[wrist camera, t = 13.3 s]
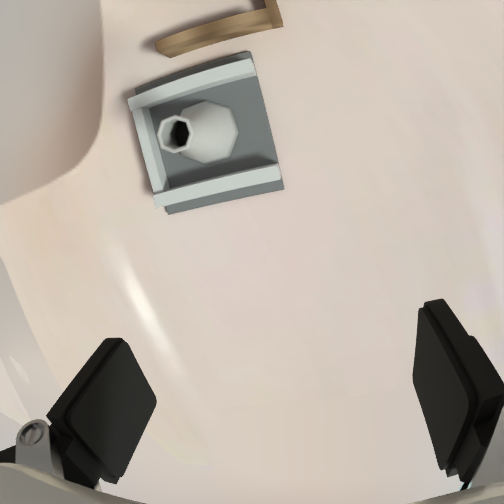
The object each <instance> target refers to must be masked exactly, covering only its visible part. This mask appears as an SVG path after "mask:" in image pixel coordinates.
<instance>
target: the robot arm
mask: <svg viewBox="0 0 504 504" xmlns="http://www.w3.org/2000/svg"><path fill="white" fill-rule="evenodd" d="M413 384H414V387H415V390H416V393H417V396H418V399H419V402H420V405H421V408H422V411H423V414H424V417H425V420H426V424H427V427H428V430H429V434H430V437H431V440H432V444H433V447H434V451H435V454H436V458H437V462H438V466H439V468H440V470H443V469H445V470H446V474H447V477H450V476H453V475H457V474H458V475H459V479H460V481H462V482H463V483H462V485H461V487H460V489H459V491H457V492H454V493H450V494H446V495H442V496H438V497H435V498H430V499H426V500H423V501H418V502H414V503H410V504H504V383H503V381H502V380H501V378H500V376H499V374H498V373H497V371H496V370H495V368H494V366H493V364H492V363H491V361H490V360H489V358H488V356H487V355H486V353H485V352H484V350H483V349H482V347H481V346H480V344H479V343H478V341H477V340H476V338H475V337H474V336H469V335H468V333H467V332H466V330H465V329H464V327H463V326H462V325H461V323H460V322H459V320H458V319H457V317H456V316H455V314H454V313H453V312H452V310H451V309H450V307H449V306H448V304H447V303H446V302H445V300H444V299H437V300H432V301H428V302H425V303H424V307H423V308H420V309H419V311H418V324H417V338H416V349H415V358H414V367H413ZM156 403H157V400H156V396H155V394H154V392H153V391H152V389H151V387H150V385H149V383H148V381H147V380H146V378H145V376H144V374H143V372H142V370H141V368H140V366H139V364H138V362H137V360H136V358H135V356H134V354H133V352H132V350H131V348H130V346H129V345H128V343H127V342H125V341H124V340H123V339H122V338H106V339H105V340H104V341H103V342H102V343H101V345H100V346H99V347H98V348H97V350H96V351H95V352H94V353H93V355H92V356H91V357H90V358H89V360H88V361H87V362H86V363H85V365H84V366H83V367H82V369H81V370H80V371H79V372H78V374H77V375H76V376H75V378H74V379H73V380H72V382H71V383H70V384H69V385H68V387H67V388H66V389H65V391H64V392H63V393H62V395H61V396H60V397H59V399H58V400H57V401H56V403H55V404H54V405H53V407H52V408H51V410H50V411H49V412H48V414H47V415H46V416H47V418H48V419H49V420H50V422H51V423H52V424H51V425H50V426H49V425H48V424H47V423H46V422H45V421H44V420H41V419H36V420H32V421H30V422H28V423H26V424H25V425H24V426H23V427H22V428H21V429H20V431H19V432H18V434H17V437H16V445H15V446H12V447H10V448H7V449H5V450H2V451H0V504H145V503H141V502H136V501H132V500H128V499H124V498H121V497H117V496H113V495H110V494H106V493H103V492H102V491H101V487H100V484H99V479H100V477H101V478H102V479H103V480H104V481H106V482H109V483H113V484H117V482H118V480H119V478H120V477H122V476H123V475H124V473H125V471H126V469H127V466H128V464H129V462H130V460H131V458H132V456H133V453H134V451H135V449H136V447H137V445H138V443H139V440H140V438H141V436H142V434H143V432H144V430H145V428H146V426H147V424H148V421H149V419H150V417H151V415H152V413H153V411H154V409H155V407H156Z"/></svg>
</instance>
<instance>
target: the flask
mask: <svg viewBox="0 0 504 504" xmlns="http://www.w3.org/2000/svg"><path fill="white" fill-rule="evenodd" d="M238 133H239V132H238V129H237V125H236V122H235V119H234V116H233V112H232V109H231V108H229V107H226V106H223V105H220V104H217V103H214V102H211V101H207V100H206V101H204V102H201V103H198V104H195V105H192V106H190V107H187V108H184V109H183V110H182V112H181V114H180V116H178V115H173V116H171V117H168V118H166V119H163V120H161V122H160V125H159V128H158V131H157V138H158V141H159V145H160V148H161V149H163V150H166V151H169V152H172V153H177V152H180V153H181V155H182V156H183V157H186V158H189V159H192V160H194V161H197V162H200V163H203V164H208V163H212V162H215V161H218V160H221V159H225V158H228V157H230V155H231V152H232V149H233V147H234V144H235V141H236V139H237V136H238Z"/></svg>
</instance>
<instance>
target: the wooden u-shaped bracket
mask: <svg viewBox="0 0 504 504" xmlns="http://www.w3.org/2000/svg"><path fill="white" fill-rule="evenodd" d="M264 2H265V6H266V8H263V9H259V10H254V11H250V12H246V13H242V14H238V15H234V16H230V17H227V18H223V19H220V20H216V21H213V22H210V23H206V24H203V25H200V26H197V27H194V28H191V29H188V30H185V31H182V32H180V33H177V34H174V35H171V36H169V37H166V38H164V39H161V40H159V41H156V42H155V45H156V49H157V52H159V53H161V54H163V55H165V56H167V57H169V58H172V57H175V56H178V55H181V54H183V53H186V52H189V51H192V50H195V49H198V48H201V47H205V46H208V45H211V44H214V43H218V42H221V41H225V40H228V39H232V38H236V37H240V36H244V35H248V34H252V33H256V32H260V31H265V30H270V29H274V28H279V27H283V21H282V18H281V14H280V11H279V8H278V5H277V2H276V0H264Z"/></svg>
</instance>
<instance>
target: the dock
mask: <svg viewBox="0 0 504 504" xmlns="http://www.w3.org/2000/svg"><path fill="white" fill-rule="evenodd" d="M135 92H136V96H134V97H131V98H129V99H127V100H128V104H129V108H130V111H132V112H133V117H134V121H135V125H136V129H137V133H138V137H139V141H140V145H141V148H142V152H143V156H144V160H145V163H146V167H147V171H148V174H149V178H150V181H151V185H152V188H153V192H154V195H153V199H154V202H155V206H156V208H159V207H163V206H166V209H167V213H168V215H170V214H174V213H178V212H182V211H187V210H191V209H195V208H199V207H204V206H208V205H213V204H217V203H222V202H226V201H231V200H235V199H240V198H245V197H249V196H254V195H259V194H264V193H269V192H274V191H279V190H284V185H283V181H282V176H281V172H280V167H279V163H278V158H277V154H276V150H275V146H274V141H273V137H272V133H271V129H270V125H269V121H268V116H267V112H266V108H265V104H264V100H263V96H262V93H261V89H260V85H259V81H258V77H257V73H256V69H255V66H254V62H253V58H252V55H251V52H250V51H249V52H245V53H241V54H237V55H233V56H229V57H226V58H222V59H219V60H215V61H212V62H208V63H205V64H202V65H199V66H196V67H193V68H190V69H187V70H184V71H181V72H178V73H175V74H172V75H170V76H167V77H164V78H161V79H159V80H156V81H154V82H151V83H149V84H146V85H144V86H141V87H139V88H136V89H135ZM206 100H207V101H211V102H214V103H217V104H220V105H223V106H226V107H229V108H231V109H232V112H233V116H234V119H235V122H236V125H237V129H238V132H239V133H238V136H237V139H236V141H235V144H234V147H233V149H232V152H231V155H230V157H228V158H225V159H221V160H218V161H215V162H212V163H208V164H203V163H200V162H197V161H194V160H192V159H189V158H186V157H183V156H182V155H181V153H180V152H177V153H172V152H169V151H166V150H163V149H161V148H160V145H159V141H158V138H157V131H158V128H159V125H160V122H161V120H163V119H166V118H168V117H171V116H173V115H178V116H180V114H181V112H182V110H183V109H184V108H187V107H190V106H192V105H195V104H198V103H201V102H204V101H206Z"/></svg>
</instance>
